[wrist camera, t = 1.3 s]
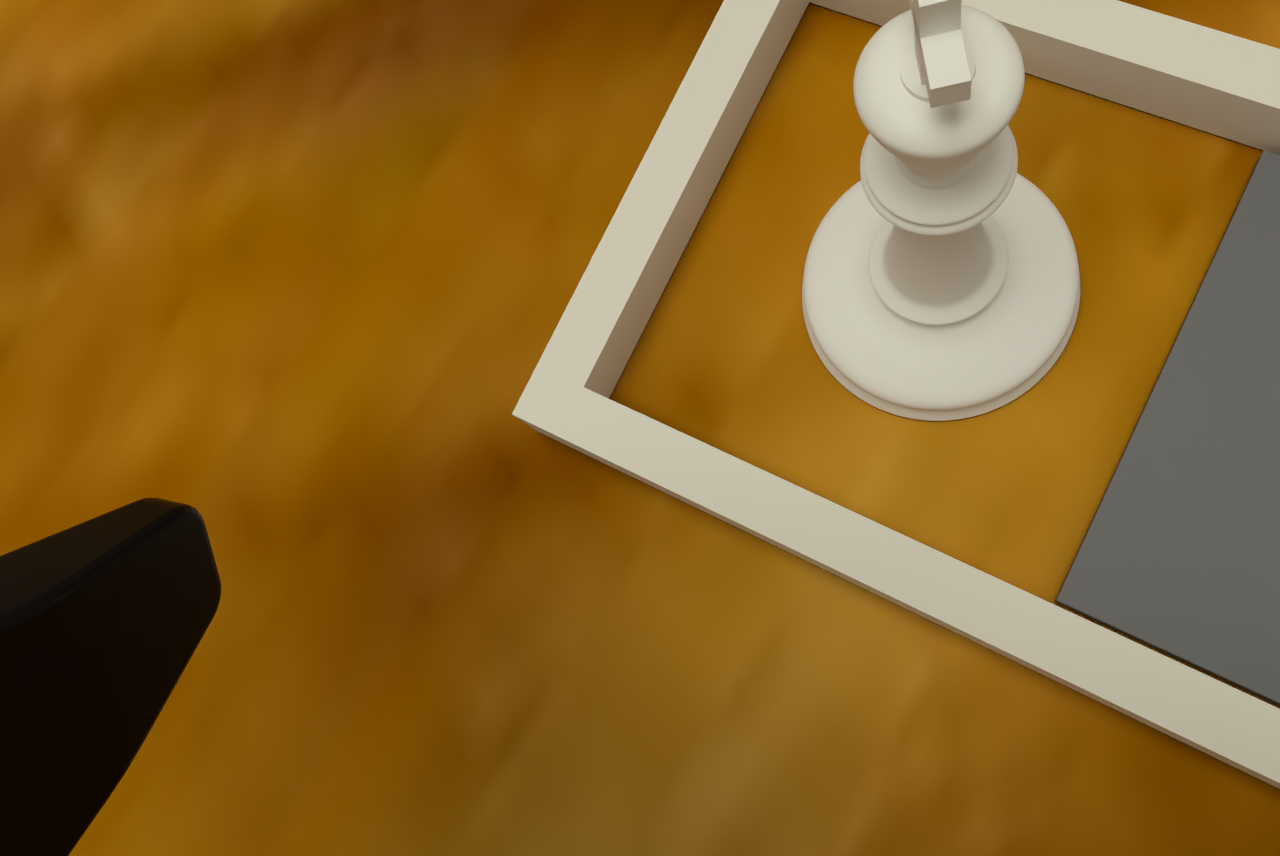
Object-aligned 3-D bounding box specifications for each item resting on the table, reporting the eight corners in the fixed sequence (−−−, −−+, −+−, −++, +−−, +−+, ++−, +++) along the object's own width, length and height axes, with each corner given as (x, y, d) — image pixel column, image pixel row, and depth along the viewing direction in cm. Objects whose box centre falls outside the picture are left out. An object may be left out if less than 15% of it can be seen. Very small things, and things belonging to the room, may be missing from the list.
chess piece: (1049, 138, 22) (1131, -278, 13) (1106, 395, 21) (1245, 145, 12) (784, 195, 23) (676, -153, 14) (824, 443, 22) (738, 250, 12)
